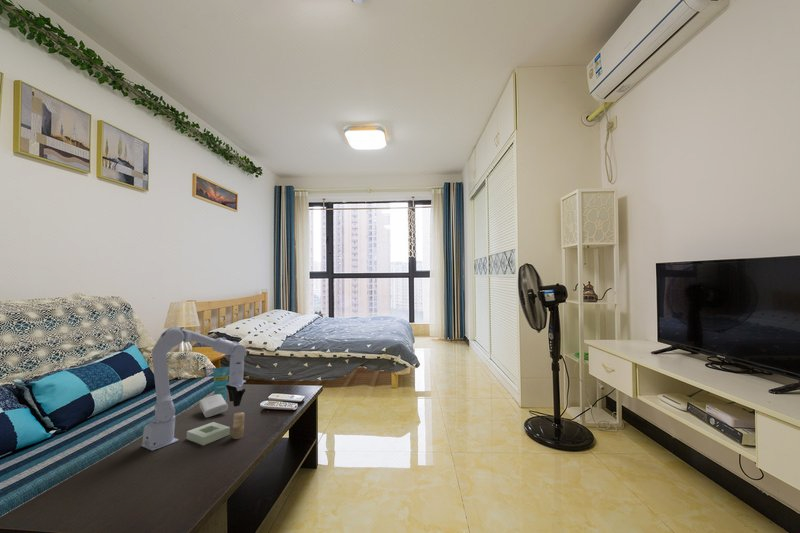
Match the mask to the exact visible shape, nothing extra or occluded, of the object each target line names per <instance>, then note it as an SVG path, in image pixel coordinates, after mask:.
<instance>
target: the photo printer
mask: <svg viewBox="0 0 800 533" xmlns="http://www.w3.org/2000/svg"><path fill="white" fill-rule="evenodd" d="M199 407H200V410H201V411H202V413H203V415H204V418H206V419H207V418H210V417H213V416H216V415H219V414H221V413H224V412H226V411H227V410H228V409H229V405H228V403H227V402H225V400H224V398H223V397H222V395H221V394H217V395H214V394H213V395H209V396H207V397H204V398H203V399H201V400H199Z"/></svg>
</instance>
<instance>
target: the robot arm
mask: <svg viewBox="0 0 800 533" xmlns="http://www.w3.org/2000/svg"><path fill="white" fill-rule="evenodd" d="M183 342H184V343H185V344H186V343H188V342H194V343H195V342H196V343H199V344H201V345H202V344H203V345H205V346H209V347H211V348H212V351H214V352H217V353H219V354H223V355H226V356H230V360H229V373H228V381H227V385H226V387H227V393H228V399H229V402H232V403H233V407H238V406H241V403H242V398H243V395H244V394H245V392H246V391H247V390H246V388H243V386H244V384H245V383H247V380H244V371H245V356H246V355H247V349H246V347H245V346H244V345H242V344H240V343H239V342H237V341H235V340H234V341H231V340H229V339H227V338H226V337H224V336H223V337H217V338H212V337H209V336H207V335H204V334H201V333H199V332H196V331H193V330H191V329H190V330H189V329H185V328H179V327H176V326H172V327H169V328H167V329H166V330H164V332H162V333H161V334H160V336H159V339H157V341H156V343H155V344H154V346H153V348H152V349H151V357H152V367H153V376H154V385H155V397H156V402H155V405H154V415H155V416H154V417H153V418H152V421H151V422H150V423H148V424H146V425H144V427H143V431H142V433H143V434H142V444H141V445H140V446H141V447H142V448H145V449H147V450H150V451H155V450H158V449H161V448H163V447H166V446H169V445H171V444H175V443H177V442H180V440H179V438H177V437H175V429H176V428H175V426H176V415H175V414H176V408H175V403H174V401H173V400H172V396H171V387H170V377H169V367H168V358H167V355H168V353H169V352H170V351H171V350H172V349H173V348H175V347H177V346H179V345H180V344H182V343H183Z"/></svg>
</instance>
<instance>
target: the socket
mask: <svg viewBox="0 0 800 533" xmlns="http://www.w3.org/2000/svg"><path fill="white" fill-rule="evenodd" d="M230 434H231V426H227V425H224V424H221V423H218V422H215V421H213V422H210V423H209V422H208V423H207V424H204V425H201V426H198V427H195V428H193V429H190V430H187V431H186V440H188V441H191V442H194V443H196V444H197V445H198V444H199V445H201V446H206V445H208V444H210V443H213V442H215V441H217V440H220V439H222V438H224V437H227V436H229V435H230Z"/></svg>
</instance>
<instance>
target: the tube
mask: <svg viewBox="0 0 800 533" xmlns="http://www.w3.org/2000/svg"><path fill="white" fill-rule="evenodd" d="M229 368H230V366H224V367H214V368H212V372H213V384H214V386H213V387H214V393H213V395H217V394H221V395H222V397H223V398H224V400H225V402H226V400H227V392H228V390H227V387H226V385H228V382H229ZM226 403H227V402H226Z"/></svg>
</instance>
